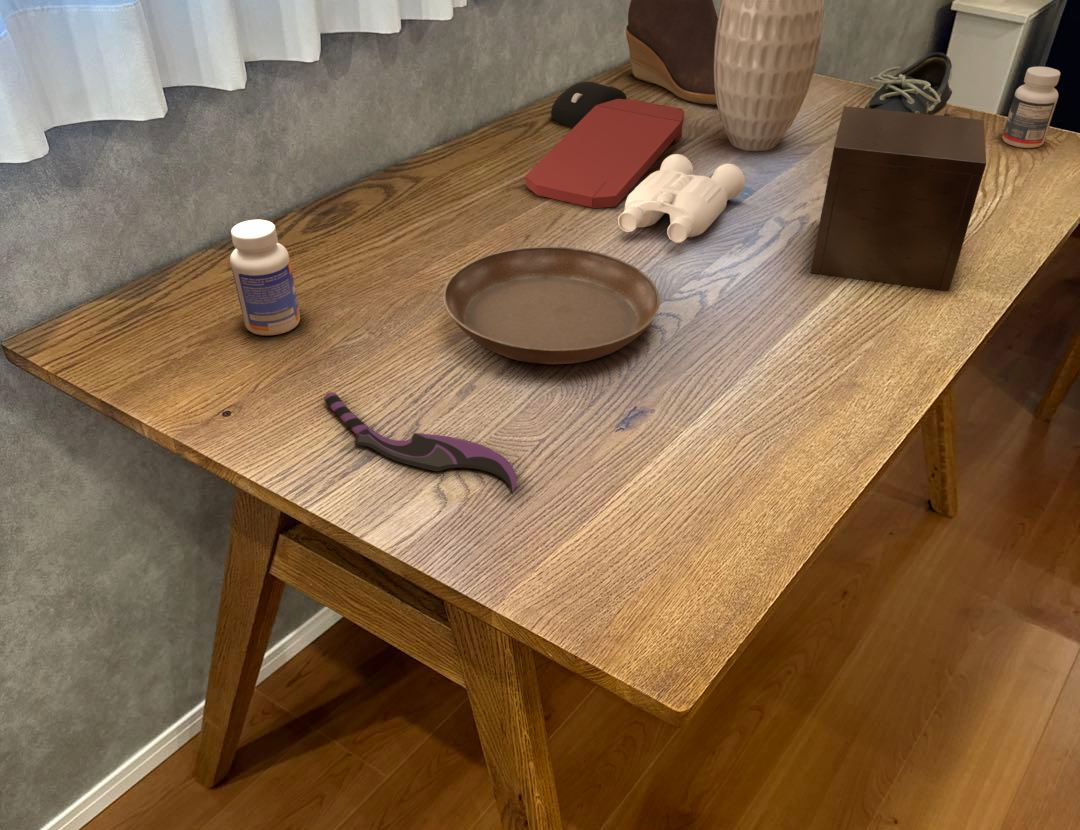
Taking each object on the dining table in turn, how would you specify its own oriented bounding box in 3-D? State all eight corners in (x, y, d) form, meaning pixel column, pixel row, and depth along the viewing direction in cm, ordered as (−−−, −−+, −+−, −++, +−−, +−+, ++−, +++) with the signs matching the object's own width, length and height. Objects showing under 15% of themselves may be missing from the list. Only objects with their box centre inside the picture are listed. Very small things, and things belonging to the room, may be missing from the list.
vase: (684, 142, 135) (707, -108, 116) (746, 119, 141) (777, -121, 123) (760, 169, 128) (798, -91, 109) (821, 144, 134) (867, -106, 115)
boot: (740, 118, 141) (761, -45, 128) (607, 79, 154) (613, -73, 140) (775, 102, 146) (798, -57, 133) (643, 66, 159) (652, -82, 145)
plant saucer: (624, 264, 108) (626, 235, 106) (686, 366, 93) (689, 334, 91) (432, 284, 105) (429, 254, 103) (463, 392, 90) (461, 360, 88)
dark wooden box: (949, 241, 112) (984, 119, 104) (949, 291, 104) (986, 163, 95) (821, 225, 116) (843, 105, 107) (810, 272, 107) (834, 146, 98)
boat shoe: (887, 172, 127) (902, 106, 122) (818, 153, 132) (829, 88, 126) (970, 116, 142) (987, 55, 137) (905, 100, 147) (919, 41, 141)
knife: (331, 396, 89) (295, 427, 86) (329, 388, 89) (293, 420, 86) (537, 467, 82) (506, 504, 79) (537, 459, 81) (505, 496, 78)
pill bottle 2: (1008, 131, 138) (1029, 61, 132) (1048, 139, 135) (1071, 69, 129) (996, 143, 134) (1016, 72, 128) (1036, 152, 132) (1059, 80, 126)
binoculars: (743, 201, 120) (748, 162, 117) (695, 256, 110) (699, 214, 107) (661, 185, 124) (664, 147, 121) (606, 236, 113) (608, 195, 110)
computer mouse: (639, 110, 144) (641, 80, 141) (586, 133, 137) (587, 102, 134) (598, 98, 148) (599, 69, 145) (544, 120, 141) (544, 90, 138)
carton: (611, 238, 121) (695, 139, 135) (610, 201, 117) (697, 103, 131) (523, 217, 125) (613, 123, 139) (519, 181, 122) (612, 88, 135)
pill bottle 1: (311, 323, 99) (296, 228, 93) (264, 343, 96) (244, 247, 90) (280, 303, 102) (263, 210, 96) (233, 322, 99) (212, 228, 93)
